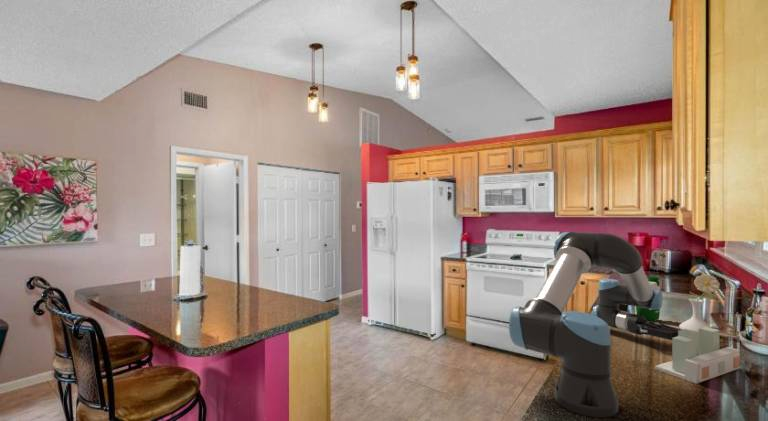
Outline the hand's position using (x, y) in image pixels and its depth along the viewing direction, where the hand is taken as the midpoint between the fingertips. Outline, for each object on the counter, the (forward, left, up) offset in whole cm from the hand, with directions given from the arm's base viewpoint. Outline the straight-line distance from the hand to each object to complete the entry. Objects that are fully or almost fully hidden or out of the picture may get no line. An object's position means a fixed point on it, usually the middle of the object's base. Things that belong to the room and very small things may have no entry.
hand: (701, 341), depth 130 cm
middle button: (-9, -1, -5) cm, 11 cm away
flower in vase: (+31, +15, -6) cm, 35 cm away
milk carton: (+34, +37, -6) cm, 51 cm away
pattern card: (-9, -9, -6) cm, 15 cm away
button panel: (-9, -3, -6) cm, 12 cm away
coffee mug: (+24, +45, -6) cm, 52 cm away
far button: (0, -2, -5) cm, 6 cm away
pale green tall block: (-18, -4, -5) cm, 19 cm away
